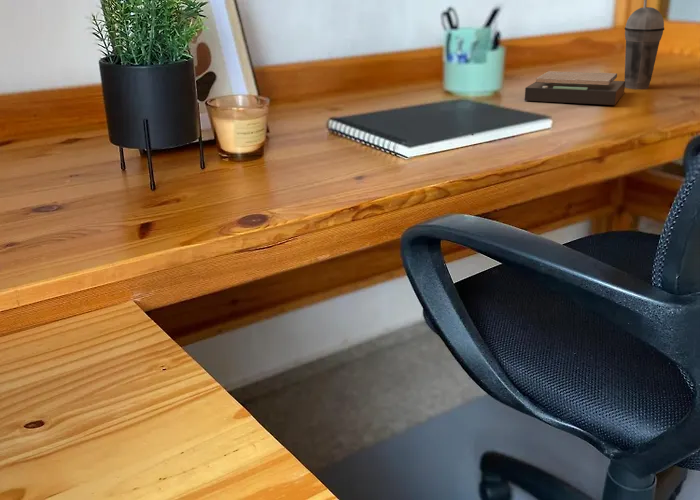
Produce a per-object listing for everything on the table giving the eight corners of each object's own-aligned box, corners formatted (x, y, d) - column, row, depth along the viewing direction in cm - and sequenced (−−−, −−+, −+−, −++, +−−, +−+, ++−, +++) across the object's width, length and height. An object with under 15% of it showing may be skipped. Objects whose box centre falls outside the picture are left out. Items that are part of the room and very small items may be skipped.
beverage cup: (663, 88, 143) (679, -18, 135) (641, 93, 139) (655, -16, 131) (632, 83, 148) (645, -19, 140) (609, 88, 144) (621, -17, 136)
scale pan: (616, 77, 136) (617, 73, 136) (608, 85, 127) (609, 80, 127) (548, 75, 142) (548, 71, 142) (535, 82, 133) (535, 78, 132)
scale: (624, 93, 138) (625, 79, 137) (614, 105, 127) (616, 89, 126) (540, 90, 145) (541, 76, 144) (524, 100, 133) (525, 85, 132)
